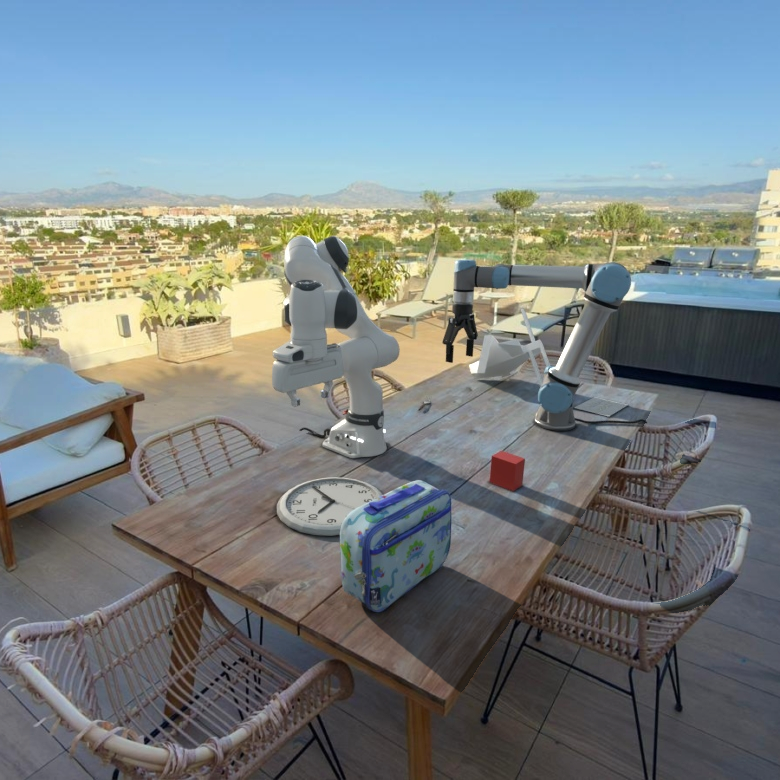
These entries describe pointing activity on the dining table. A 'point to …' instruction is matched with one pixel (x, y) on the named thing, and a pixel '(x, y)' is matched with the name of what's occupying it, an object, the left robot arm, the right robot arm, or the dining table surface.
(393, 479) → the dining table surface
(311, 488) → the wall clock
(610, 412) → the invitation card
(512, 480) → the brick
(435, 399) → the dining table surface
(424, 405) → the fork
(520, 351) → the white plastic object
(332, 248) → the left robot arm
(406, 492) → the lunch box
